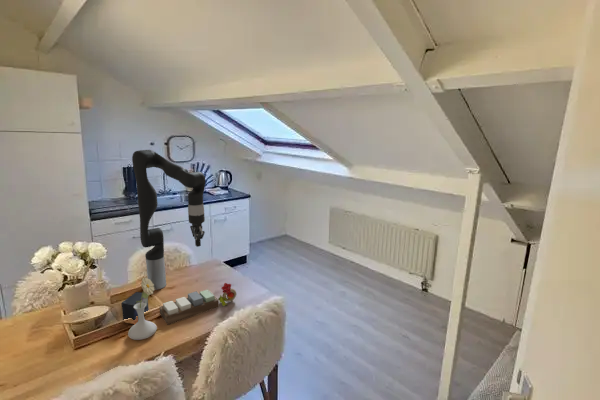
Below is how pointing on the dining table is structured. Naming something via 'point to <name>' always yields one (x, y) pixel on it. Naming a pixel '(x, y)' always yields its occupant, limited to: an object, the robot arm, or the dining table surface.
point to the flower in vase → (142, 326)
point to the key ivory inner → (183, 303)
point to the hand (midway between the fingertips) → (198, 246)
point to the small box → (129, 304)
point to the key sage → (207, 296)
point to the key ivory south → (170, 308)
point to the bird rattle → (229, 292)
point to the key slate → (195, 298)
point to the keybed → (188, 311)
